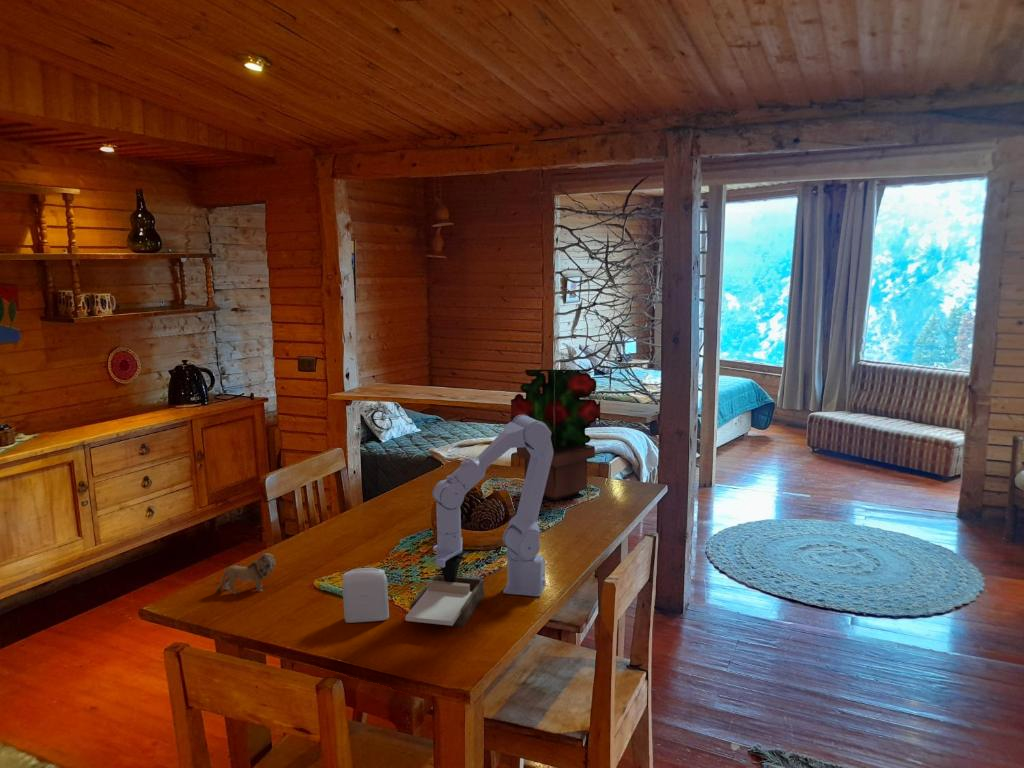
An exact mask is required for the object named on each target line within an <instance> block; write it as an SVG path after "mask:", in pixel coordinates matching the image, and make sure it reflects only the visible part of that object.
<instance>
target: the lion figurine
mask: <svg viewBox="0 0 1024 768" xmlns="http://www.w3.org/2000/svg"><path fill="white" fill-rule="evenodd" d="M275 567H276V560H275V555H273V554H271V553H269V552H267V553H264V554H262V555H261V556H260V557H259V558H258V559H256V560H255V561H253V562H252V563H250V565H248V566H240V565H231V566H229V567H227V568H226V569H224V571H223V574H222V575H223V576H222V579H221V583H220V587H219V588H218V589H217V590H216V591H215V592H216V593H219V592H221V591H222V589H224V590H225V591H228V590H230V591H231V593H232V594H233V595H237V594H238V593H239V591H238V590H235V588H234V585H235V584H236V579H239V580H241V581H247V582H248V581H254V582H255V586H256V589H257V592H259V593H261V592H263V591H264V589H263V584H262V580H263V579H267V578H268V577H269V576H270V574H271V573H272V572H273V571H274V570H275ZM226 576H227V577H226ZM228 585H229V586H228Z"/></svg>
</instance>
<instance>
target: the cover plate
mask: <svg viewBox="0 0 1024 768" xmlns="http://www.w3.org/2000/svg"><path fill="white" fill-rule="evenodd" d="M427 583H428V589H427V590H426V592H425V593H424V594H423V595H422V597H421V598H420V599H419V600H418V602H417V603H416V604H415V605H414V607H413V608H412V609H411V610H410V609H409V611H408V613H407V614H405V616H404V617H405V619H404V620H405V621H406V622H415V623H424V624H433V625H441V626H442V625H444V626H450V627H451V626H452V627H454V626H453V624H454V623H455V621H456V620H457V618H458V617H459V615H460V614H461V610H462V608H463V607H464V605H465V604H466V602H467V601H468V599H469V598H470V596H471V595H472V592H470V584H466V583H455V582H444V581H434V580H431V579H430V580H429V581H428V582H427Z"/></svg>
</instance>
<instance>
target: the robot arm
mask: <svg viewBox="0 0 1024 768" xmlns="http://www.w3.org/2000/svg"><path fill="white" fill-rule="evenodd" d="M551 433H552V432H551V431H550V430H549V428H548V427H547V426H546V424H545V423H543V422H541V421H537V420H535V419H533V418H530V417H529V416H527V415H518V416H516V417H515V418H514V419H513V421H512V422H511V421H510V422H508V423H507V424H506V425H505V427H504V429H503V430H502V431H501V432H500V433H499V435H498V436H497V437H496V438H495V439H494V440H492V442H491V443H490V444H489V445H488V446H487V447H485V449H483V451H481V453H480V454H479V455H478V456H477V457H475V458H471V457H469V458H468V459H466V460H465V459H463V460H461V462H460V466H459V467H458V468H456V469H455V471H453V472H452V473H451V474H448V475H447V476H446V477H445V478H446V479H442V480H439V481H438V482H437V483H436V484H435V485H434V488H433V491H431V493H432V497H433V499H434V500H435V501H436V502H435V503H436V535H437V536H436V537H437V539H436V542H437V544H435V545H434V546H433V547H432V551H434V552H436V558H435V567H436V568H439V569H440V570H441V573H442V575H443V576H444V580H445V582H456V578H457V577H458V572H459V567H460V564H461V562H462V559H463V557H464V553H463V540H464V539H463V538H464V537H462V522H461V521H462V520H461V518H462V517H461V515H462V514H461V512H462V511H461V505H462V504H463V503H464V501H465V496H466V495H467V493H469V491H471V490H472V489H473V487H474V486H476V485H477V484H478V483H480V481H481V480H483V478H485V476H486V470H487V468H488V467H489V466H491V465H492V464H493V463H495V462H496V461H497V460H498V459H499V458H500V457H502V456H503V455H504V454H505V453H507V452H508V451H509V450H511V449H513V448H514V449H517V448H519V447H526V449H527V450H528V452H529V453H530V455H531V457H530V461H529V465H528V469H527V473H526V477H525V476H524V482H523V486H522V489H521V494H520V499H519V502H518V507H517V510H516V514H515V515H514V516H513V517H512V518H511V519H510V520H509V524H508V525H507V528H505V530H504V532H503V535H502V541H503V542H502V543H503V544H504V545H505V546H506V547H507V553H506V559H507V563H506V564H507V565H506V566H507V568H506V571H507V573H506V574H507V583H506V585H505V587H504V589H503V594H507V595H517V596H526V597H527V596H529V597H541V596H542V593H543V591H544V589H545V587H546V584H547V583H546V558H545V556H541V555H538V554H539V552H540V548H541V543H540V536H541V530H540V527H539V524H538V518H539V513H540V511H541V506H542V501H543V498H544V497H543V495H544V490H545V486H546V482H547V478H548V474H549V470H550V466H551V462H552V458H553V447H552V442H551V438H550V437H551Z"/></svg>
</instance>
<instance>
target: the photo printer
mask: <svg viewBox="0 0 1024 768" xmlns="http://www.w3.org/2000/svg"><path fill="white" fill-rule="evenodd" d="M341 582H342V586H341V587H342V598H343V599H342V600H343V612H344V621H345V623H347V624H348V623H349V624H350V623H353V624H354V623H366V622H367V623H368V622H380V621H386V620H388V619H389V617H390V610H389V609H390V608H389V606H390V605H389V594H388V593H389V592H388V591H389V590H388V577H387V575H386V572H385V570H384V569H381V568H374V567H362V568H361V567H360V568H355V569H351V570H349V571H346V572H344V573H343V577H342V581H341Z"/></svg>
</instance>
